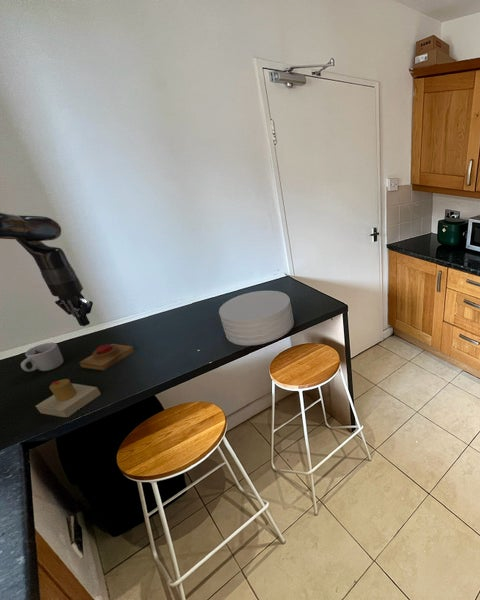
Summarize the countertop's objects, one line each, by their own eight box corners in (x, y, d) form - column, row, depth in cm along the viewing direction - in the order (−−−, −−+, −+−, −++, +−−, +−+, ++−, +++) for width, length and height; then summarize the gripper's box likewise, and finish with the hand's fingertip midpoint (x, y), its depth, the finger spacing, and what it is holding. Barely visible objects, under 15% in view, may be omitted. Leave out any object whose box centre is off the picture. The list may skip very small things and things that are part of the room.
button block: (104, 370, 113) (99, 361, 111) (81, 367, 114) (76, 358, 112) (134, 350, 123) (131, 342, 121) (113, 348, 125) (109, 339, 123)
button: (104, 354, 115) (102, 351, 114) (95, 353, 116) (93, 349, 115) (114, 348, 119) (113, 344, 118) (106, 347, 119) (104, 343, 118)
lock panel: (67, 417, 93) (61, 410, 92) (40, 413, 95) (35, 405, 94) (101, 394, 102) (96, 386, 101) (76, 390, 104) (71, 382, 102)
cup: (39, 380, 108) (26, 361, 104) (20, 377, 109) (7, 359, 106) (73, 360, 118) (62, 343, 114) (55, 358, 119) (44, 341, 115)
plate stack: (306, 323, 141) (303, 301, 136) (248, 354, 121) (241, 329, 116) (271, 306, 156) (266, 285, 151) (213, 330, 136) (206, 307, 131)
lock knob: (80, 391, 99) (72, 378, 96) (65, 402, 95) (56, 388, 93) (68, 390, 99) (60, 377, 97) (53, 400, 96) (44, 387, 93)
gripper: (31, 282, 100) (57, 328, 107) (65, 285, 98) (89, 332, 105) (58, 273, 106) (81, 318, 114) (90, 276, 104) (111, 321, 112)
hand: (85, 324), depth 110 cm, fingers closed
